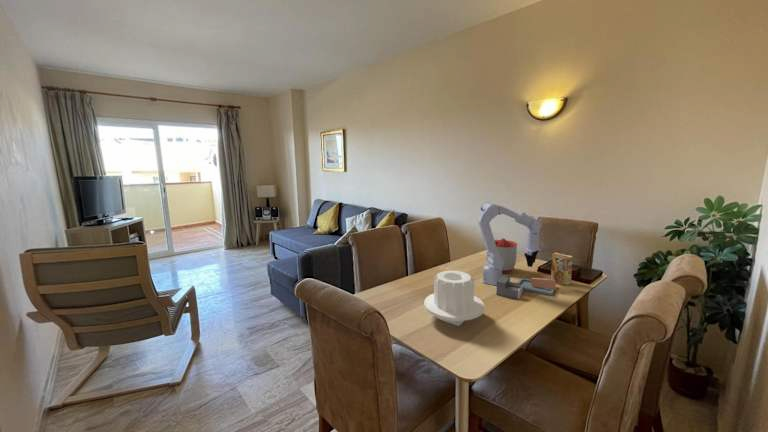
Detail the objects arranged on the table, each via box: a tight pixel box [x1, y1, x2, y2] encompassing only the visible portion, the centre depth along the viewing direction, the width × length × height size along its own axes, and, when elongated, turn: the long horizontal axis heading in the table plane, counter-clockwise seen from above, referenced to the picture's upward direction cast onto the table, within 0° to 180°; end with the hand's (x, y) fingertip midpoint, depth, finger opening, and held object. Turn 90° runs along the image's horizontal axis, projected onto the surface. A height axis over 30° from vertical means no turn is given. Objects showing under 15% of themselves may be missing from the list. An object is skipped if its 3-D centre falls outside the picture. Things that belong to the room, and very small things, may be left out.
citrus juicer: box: [494, 237, 518, 274], centre depth 187 cm, size 16×17×20 cm
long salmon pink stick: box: [530, 277, 557, 290], centre depth 160 cm, size 11×1×4 cm, turn 55°
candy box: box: [550, 252, 574, 286], centre depth 167 cm, size 9×4×15 cm, turn 34°
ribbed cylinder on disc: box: [423, 269, 485, 327], centre depth 133 cm, size 25×25×19 cm
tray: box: [517, 277, 556, 297], centre depth 162 cm, size 17×13×2 cm
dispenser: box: [496, 274, 524, 300], centre depth 156 cm, size 10×10×7 cm
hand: (531, 264), depth 170 cm, fingers open, 7 cm apart
